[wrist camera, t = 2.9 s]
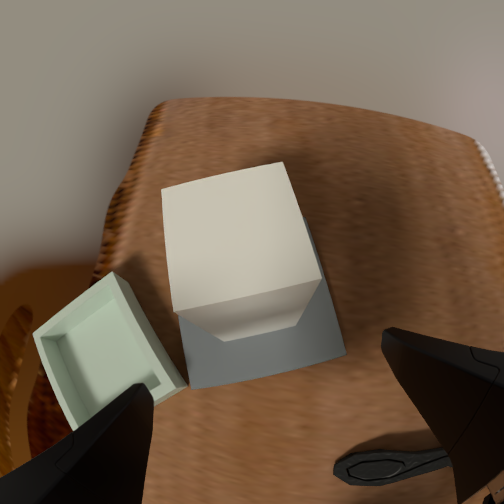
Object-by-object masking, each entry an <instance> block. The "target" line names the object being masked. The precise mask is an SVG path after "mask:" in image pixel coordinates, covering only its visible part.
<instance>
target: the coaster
mask: <svg viewBox="0 0 504 504" xmlns="http://www.w3.org/2000/svg"><path fill="white" fill-rule="evenodd" d="M302 218H303V221H304V223H305V226H306V229H307V233H308V236H309V239H310V242H311V245H312V248H313V251H314V254H315V257H316V260H317V264H318V267H319V270H320V273H321V277H322V279H321V281H320V283H319V285H318V287H317V288H316V290H315V292H314V294H313V296H312V298H311V299H310V301H309V303H308V305H307V307H306V308H305V310H304V312H303V314H302V315H301V317H300V319H299V321H298V322H297V324H296V326H292V327H288V328H284V329H280V330H276V331H272V332H267V333H263V334H258V335H254V336H249V337H245V338H240V339H235V340H230V341H225V342H224V341H222V340H220V339H219V338H217V337H215V336H213V335H212V334H210V333H208V332H206V331H205V330H203V329H201V328H200V327H198V326H196V325H195V324H193V323H191V322H190V321H188V320H186V319H185V318H183V317H181V316H180V315H178V318H179V324H180V331H181V337H182V343H183V348H184V354H185V359H186V365H187V370H188V375H189V380H190V385H191V390H193V389H200V388H207V387H213V386H219V385H225V384H230V383H236V382H241V381H246V380H251V379H256V378H261V377H265V376H270V375H274V374H278V373H283V372H287V371H291V370H295V369H299V368H303V367H306V366H310V365H314V364H317V363H321V362H324V361H328V360H331V359H334V358H338V357H341V356H344V355H347V354H346V350H345V346H344V342H343V339H342V335H341V331H340V328H339V324H338V320H337V317H336V313H335V310H334V306H333V303H332V299H331V296H330V293H329V289H328V286H327V283H326V279H325V276H324V273H323V270H322V266H321V263H320V260H319V257H318V254H317V251H316V248H315V244H314V241H313V238H312V235H311V232H310V229H309V226H308V223H307V221H306V218H305V217H302Z"/></svg>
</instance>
